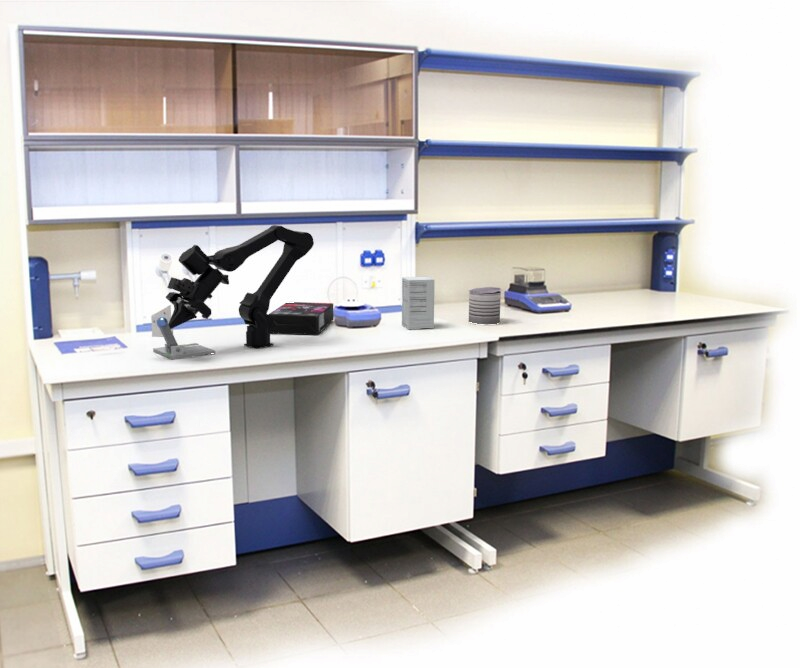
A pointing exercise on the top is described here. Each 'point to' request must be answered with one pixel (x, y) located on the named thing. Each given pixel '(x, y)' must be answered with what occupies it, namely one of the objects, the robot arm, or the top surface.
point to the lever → (166, 332)
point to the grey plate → (162, 313)
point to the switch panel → (183, 351)
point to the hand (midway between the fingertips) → (169, 327)
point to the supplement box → (417, 302)
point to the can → (484, 305)
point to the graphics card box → (301, 318)
